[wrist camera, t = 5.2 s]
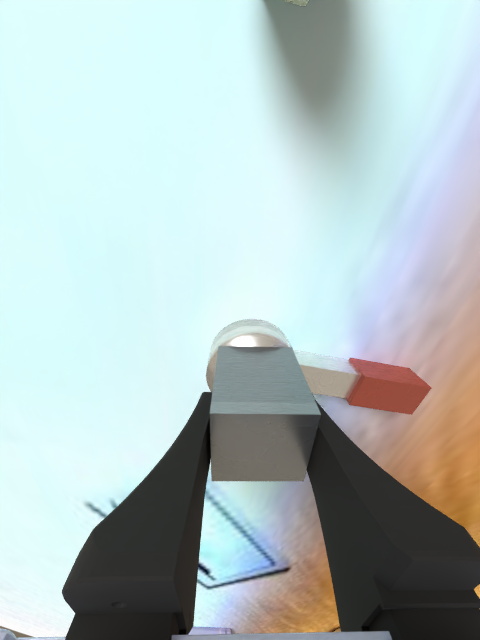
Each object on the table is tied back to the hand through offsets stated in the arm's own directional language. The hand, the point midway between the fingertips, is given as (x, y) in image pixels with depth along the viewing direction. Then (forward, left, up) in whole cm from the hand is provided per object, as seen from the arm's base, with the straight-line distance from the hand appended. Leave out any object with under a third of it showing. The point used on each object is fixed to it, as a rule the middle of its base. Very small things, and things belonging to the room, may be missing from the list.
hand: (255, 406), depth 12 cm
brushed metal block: (0, 0, -2) cm, 2 cm away
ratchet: (-5, 0, -5) cm, 7 cm away
